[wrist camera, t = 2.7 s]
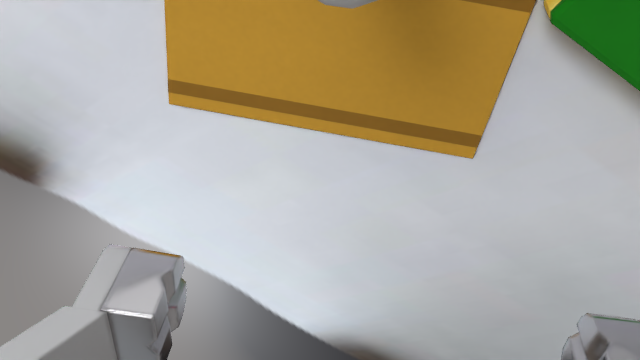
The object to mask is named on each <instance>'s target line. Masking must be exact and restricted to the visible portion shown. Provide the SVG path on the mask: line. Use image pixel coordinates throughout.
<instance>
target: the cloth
mask: <svg viewBox="0 0 640 360" xmlns="http://www.w3.org/2000/svg"><path fill="white" fill-rule="evenodd" d="M535 2H536V0H377V1H374V2H371V3H368V4H365V5H362V6H359V7H356V8H353V9H352V8H345V7H337V6H330V5H325V4H323V3H321V2H319V1H318V0H165V23H166V45H167V68H168V92H169V104H173V105H178V106H184V107H189V108H195V109H200V110H206V111H211V112H217V113H223V114H228V115H234V116H239V117H245V118H250V119H256V120H261V121H267V122H272V123H278V124H283V125H289V126H295V127H300V128H306V129H311V130H317V131H322V132H328V133H333V134H339V135H344V136H350V137H355V138H361V139H367V140H372V141H378V142H383V143H389V144H394V145H400V146H405V147H411V148H416V149H422V150H427V151H433V152H439V153H444V154H450V155H455V156H461V157H466V158H472V159H473V157H474V154H475V152H476V149H477V147H478V145H479V142H480V140H481V137H482V134H483V132H484V129H485V127H486V124H487V122H488V119H489V117H490V114H491V112H492V109H493V107H494V104H495V102H496V99H497V97H498V94H499V92H500V89H501V87H502V84H503V82H504V79H505V77H506V74H507V72H508V69H509V67H510V64H511V62H512V59H513V57H514V54H515V52H516V49H517V47H518V44H519V42H520V39H521V37H522V34H523V32H524V29H525V27H526V24H527V22H528V19H529V17H530V14H531V12H532V9H533V7H534V4H535Z"/></svg>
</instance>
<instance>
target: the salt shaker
mask: <svg viewBox="0 0 640 360" xmlns="http://www.w3.org/2000/svg"><path fill="white" fill-rule="evenodd" d="M318 1H319V2H321V3H323V4H325V5H330V6H337V7H345V8H352V9H353V8H356V7H359V6H362V5H365V4H368V3H371V2H374V1H377V0H318Z"/></svg>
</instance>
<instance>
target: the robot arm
mask: <svg viewBox="0 0 640 360" xmlns="http://www.w3.org/2000/svg"><path fill="white" fill-rule="evenodd" d="M184 268H185V266H184V258H183V256H180V255H174V254H168V253H162V252H156V251H150V250H144V249H138V248H131V247H125V246H118V245H112V244H109V245H108V246H107V247H106V248H105V249H104V250H103V251H102V253H101V255H100V257H99V258H98V260H97V262H96V264H95V266H94V267H93V269H92V271H91V273H90V275H89V276H88V278H87V280H86V282H85V283H84V286H83V287H82V289H81V291H80V292H79V294H78V296H77V298H76V300H75V302H74V303H73V305H72V307H69V306H63V307H62V308H60V309H59V310H57V311H56V312H54V313H52V314H51V315H49V316H48V317H46V318H45V319H43V320H42V321H40V322H38V323H37V324H35V325H34V326H32V327H30V328H29V329H27V330H26V331H24V332H23V333H21V334H20V335H18V336H16V337H15V338H13V339H12V340H10V341H9V342H7V343H5V344H4V345H2V346H1V347H0V360H167V358H168V355H169V352H170V349H171V347H172V339H171V332H172V331H173V330H175V329H176V328H178V327H179V325H180V321H181V319H182V316H183V312H184V307H185V302H186V291H187V289H186V282H185V281H184V280H183V279H182V278H181V277H182V274H183V271H184ZM577 327H578V330H579V333H577V334H575V335H573V336H570V337H568V339H567V341H566V343H565V345H564V347H563V350H562V356H561V360H640V320H635V319H629V318H621V317H614V316H606V315H598V314H591V313H586V314H585V315H583V316H581V318H580V320H579V321H578V323H577Z"/></svg>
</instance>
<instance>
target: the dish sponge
mask: <svg viewBox="0 0 640 360" xmlns="http://www.w3.org/2000/svg"><path fill="white" fill-rule="evenodd" d="M544 7H545V9H546V12H547V14H548V16H549V18H550V21H551V23H552V24H553V25H555V26H556V27H557V28H559V29H560V30H561V31H562V32H564V33H565V34H566V35H568V36H569V37H570V38H572V39H573V40H574V41H575V42H577V43H578V44H579V45H581V46H582V47H583V48H585V49H586V50H587V51H588V52H590V53H591V54H592V55H594V56H595V57H596V58H597V59H599V60H600V61H601V62H603V63H604V64H605V65H607V66H608V67H609V68H610V69H612V70H613V71H614V72H616V73H617V74H618V75H620V76H621V77H622V78H623V79H625V80H626V81H627V82H629V83H630V84H631V85H633V86H634V87H635V88H636V89H638V90H639V91H640V0H544Z"/></svg>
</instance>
